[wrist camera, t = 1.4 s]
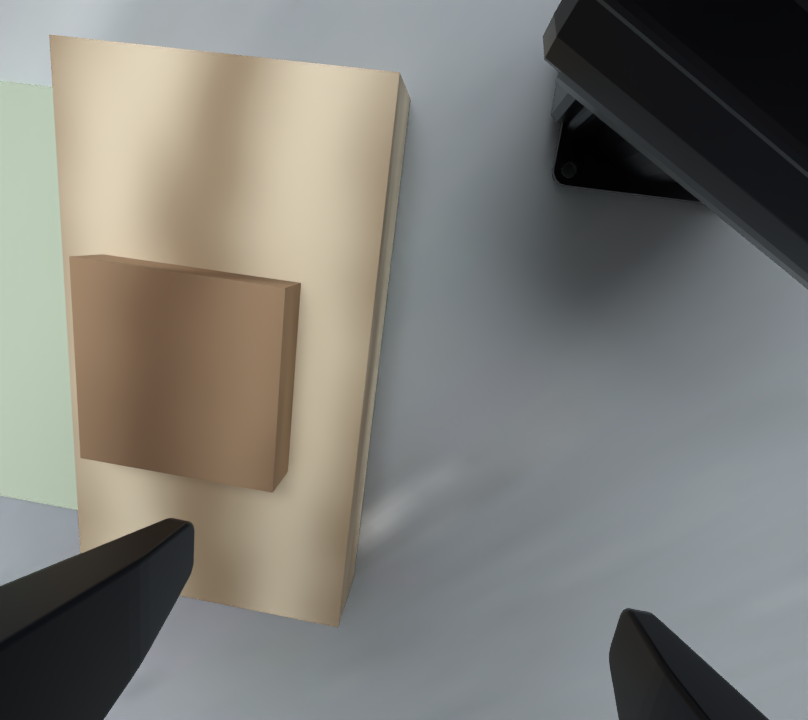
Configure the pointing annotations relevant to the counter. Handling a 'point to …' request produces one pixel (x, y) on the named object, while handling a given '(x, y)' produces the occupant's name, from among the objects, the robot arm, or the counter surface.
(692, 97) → the robot arm
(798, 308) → the counter surface
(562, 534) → the counter surface
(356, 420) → the board
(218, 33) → the counter surface
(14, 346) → the sage mat
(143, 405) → the walnut coaster
